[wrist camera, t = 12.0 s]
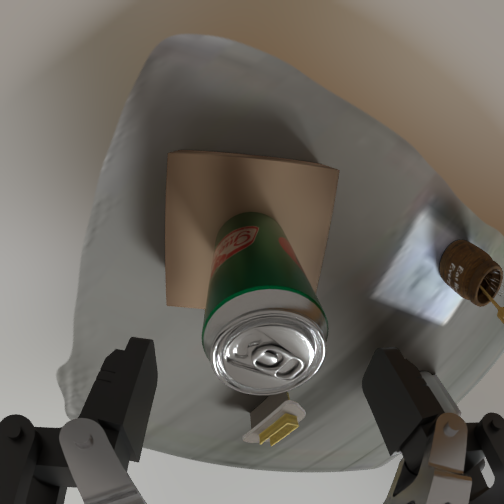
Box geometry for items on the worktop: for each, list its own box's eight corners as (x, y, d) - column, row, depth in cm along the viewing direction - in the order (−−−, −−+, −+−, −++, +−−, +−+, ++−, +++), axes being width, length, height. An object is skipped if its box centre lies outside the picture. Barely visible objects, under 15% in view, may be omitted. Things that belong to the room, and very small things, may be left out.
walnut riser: (319, 163, 24) (339, 170, 19) (298, 285, 28) (310, 314, 24) (180, 149, 23) (167, 152, 18) (176, 277, 27) (166, 305, 23)
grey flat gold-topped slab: (346, 369, 35) (362, 406, 29) (269, 436, 40) (273, 469, 34) (274, 339, 32) (282, 381, 25) (202, 417, 37) (200, 453, 31)
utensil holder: (465, 228, 27) (535, 270, 16) (473, 266, 30) (531, 312, 19) (432, 255, 28) (500, 308, 17) (442, 292, 31) (498, 347, 20)
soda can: (241, 195, 20) (252, 274, 9) (298, 234, 21) (362, 338, 10) (202, 252, 21) (175, 372, 10) (258, 286, 22) (279, 413, 11)
